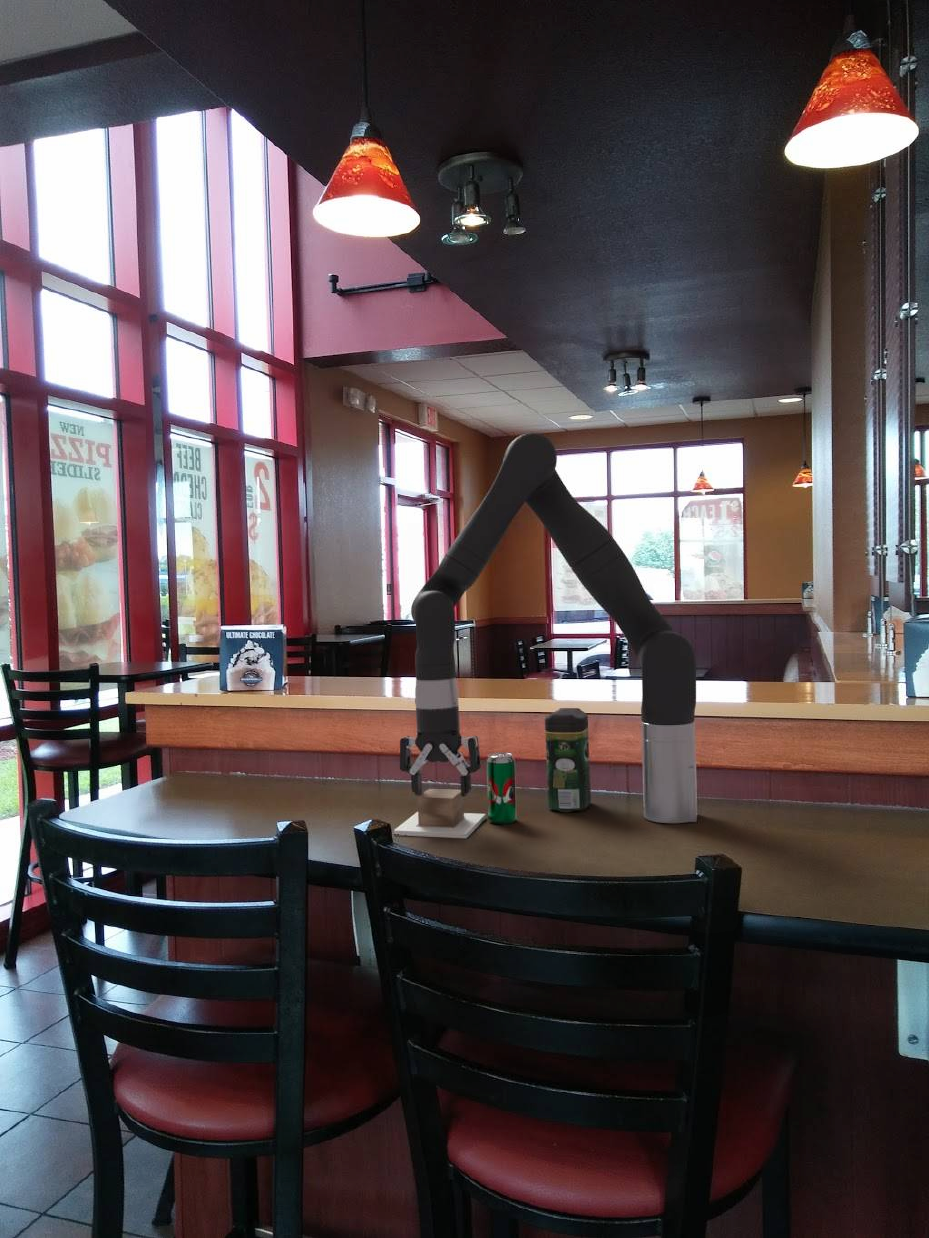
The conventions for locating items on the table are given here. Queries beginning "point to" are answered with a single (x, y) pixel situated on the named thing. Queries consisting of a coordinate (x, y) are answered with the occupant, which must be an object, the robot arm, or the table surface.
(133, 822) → the table surface
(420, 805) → the walnut block
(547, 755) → the coffee jar
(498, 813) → the soda can
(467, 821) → the board
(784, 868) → the table surface
